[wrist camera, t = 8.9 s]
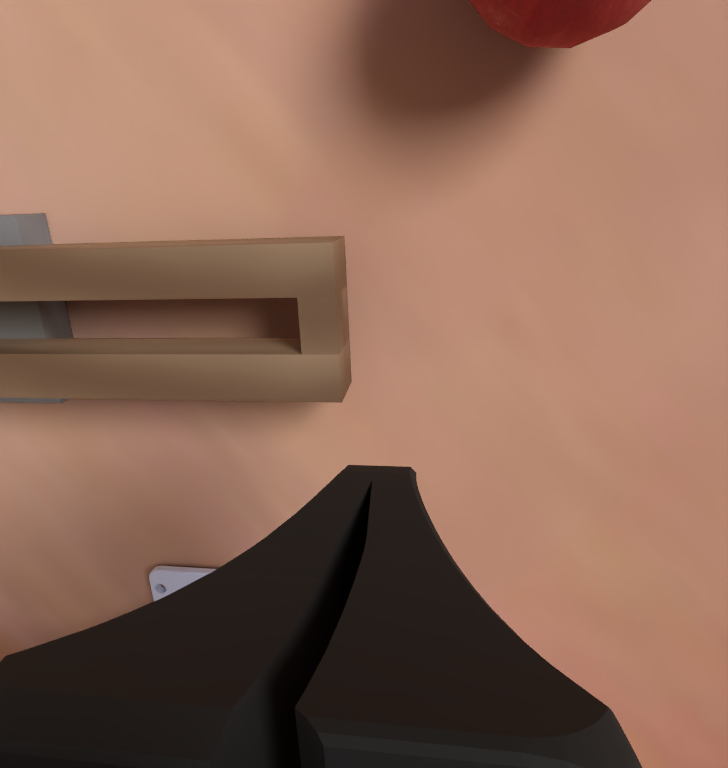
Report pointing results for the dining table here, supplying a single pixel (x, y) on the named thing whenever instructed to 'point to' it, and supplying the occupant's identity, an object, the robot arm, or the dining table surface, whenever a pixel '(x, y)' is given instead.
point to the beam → (169, 355)
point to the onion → (556, 19)
